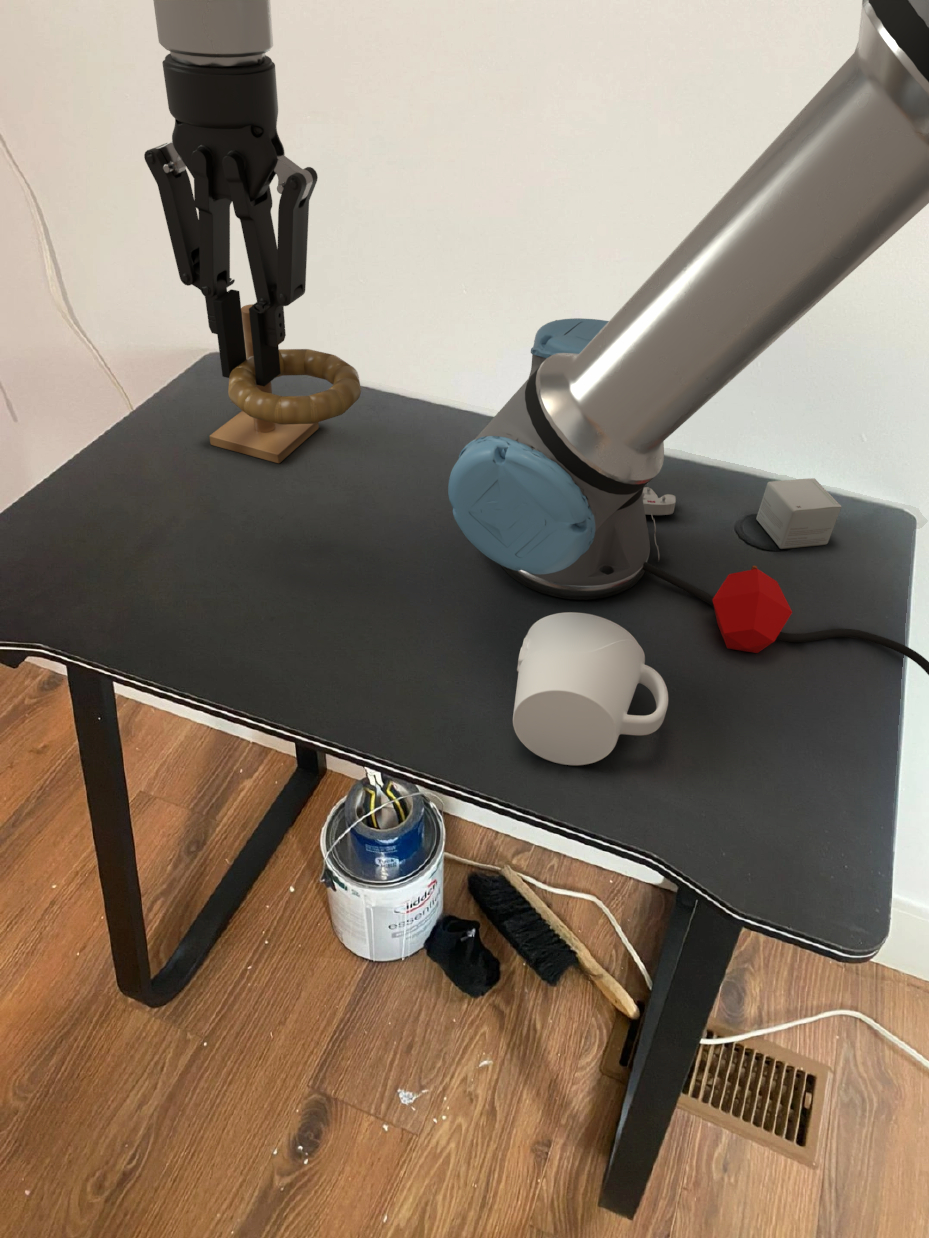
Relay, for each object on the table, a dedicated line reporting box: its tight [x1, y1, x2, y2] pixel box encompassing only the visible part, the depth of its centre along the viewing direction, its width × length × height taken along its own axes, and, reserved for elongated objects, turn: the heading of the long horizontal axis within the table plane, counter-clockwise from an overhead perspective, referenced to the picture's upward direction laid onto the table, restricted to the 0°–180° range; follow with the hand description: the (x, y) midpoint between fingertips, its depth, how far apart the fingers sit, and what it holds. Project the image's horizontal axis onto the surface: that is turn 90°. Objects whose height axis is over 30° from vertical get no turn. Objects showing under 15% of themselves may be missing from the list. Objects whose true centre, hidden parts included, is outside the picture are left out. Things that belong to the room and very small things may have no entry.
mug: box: [512, 611, 669, 766], centre depth 72 cm, size 12×9×8 cm
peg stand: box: [209, 303, 320, 464], centre depth 102 cm, size 9×9×15 cm
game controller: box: [642, 486, 677, 563], centre depth 96 cm, size 6×12×3 cm, turn 15°
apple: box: [712, 565, 793, 654], centre depth 82 cm, size 7×7×8 cm
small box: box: [755, 477, 843, 550], centre depth 95 cm, size 6×6×5 cm
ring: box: [227, 348, 362, 425], centre depth 77 cm, size 11×11×2 cm
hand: (251, 374), depth 78 cm, fingers closed on ring, 2 cm apart
